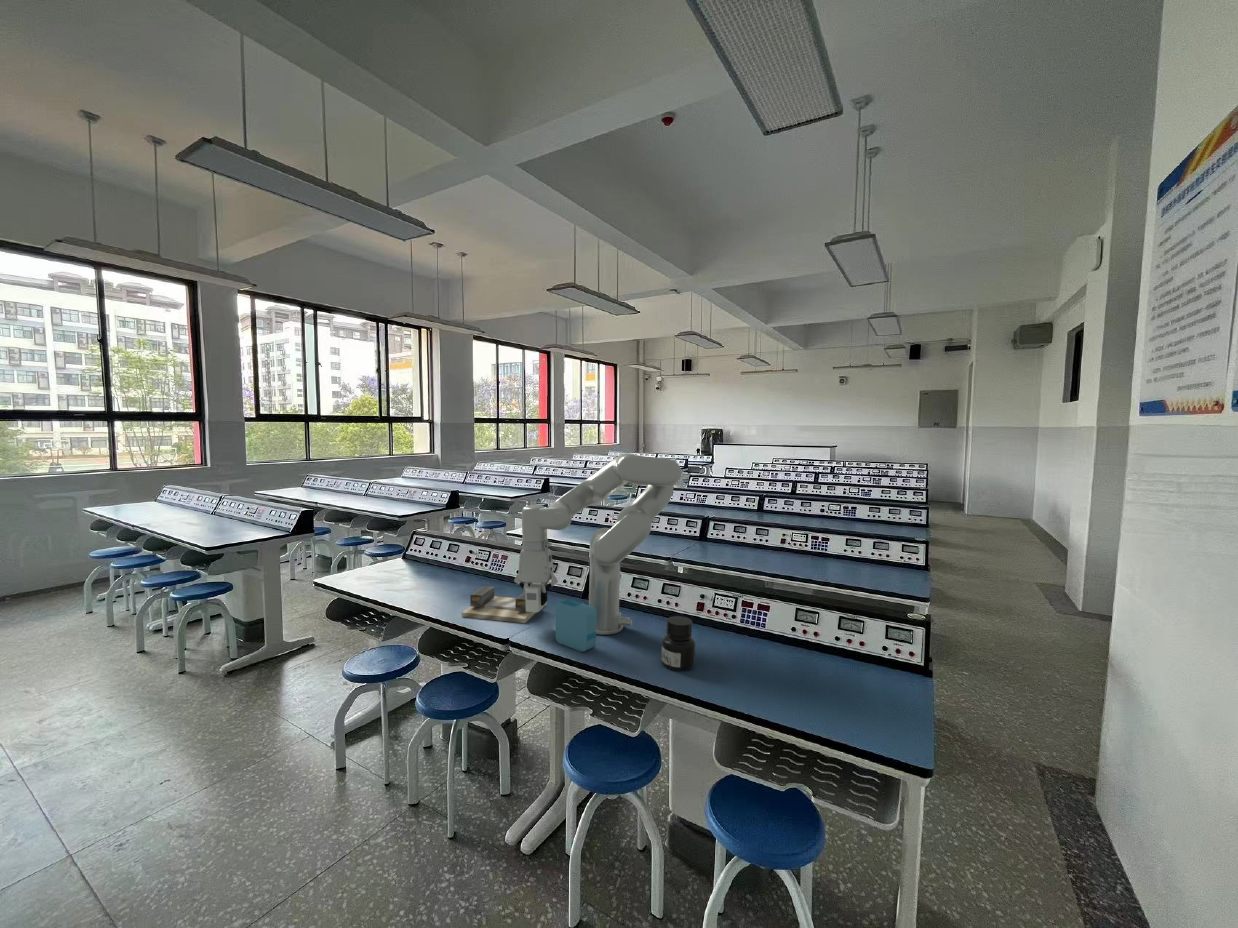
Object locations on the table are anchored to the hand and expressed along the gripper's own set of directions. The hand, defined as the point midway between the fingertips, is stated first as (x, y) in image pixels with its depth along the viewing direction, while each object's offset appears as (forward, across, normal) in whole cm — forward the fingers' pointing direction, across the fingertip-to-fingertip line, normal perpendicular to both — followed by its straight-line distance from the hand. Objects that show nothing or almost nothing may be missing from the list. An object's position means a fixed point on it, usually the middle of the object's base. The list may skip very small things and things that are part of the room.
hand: (536, 603), depth 156 cm
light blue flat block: (+9, -15, +8) cm, 19 cm away
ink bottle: (+10, -45, +14) cm, 48 cm away
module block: (+1, 0, 0) cm, 1 cm away
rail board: (+8, +16, -13) cm, 22 cm away
